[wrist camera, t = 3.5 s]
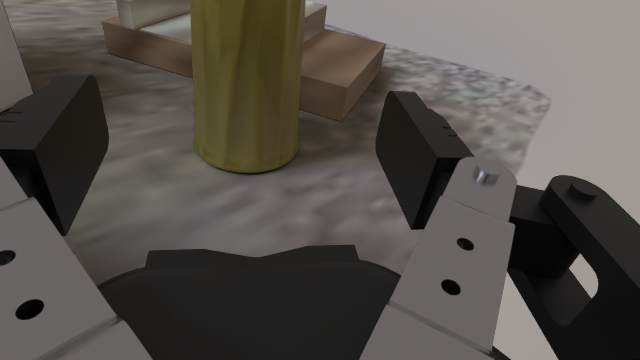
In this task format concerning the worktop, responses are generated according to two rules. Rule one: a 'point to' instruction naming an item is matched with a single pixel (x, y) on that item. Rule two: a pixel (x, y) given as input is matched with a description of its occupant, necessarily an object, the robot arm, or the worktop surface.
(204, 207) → the worktop surface
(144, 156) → the worktop surface
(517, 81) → the worktop surface
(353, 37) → the dock
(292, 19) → the vase
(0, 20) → the medicine bottle
